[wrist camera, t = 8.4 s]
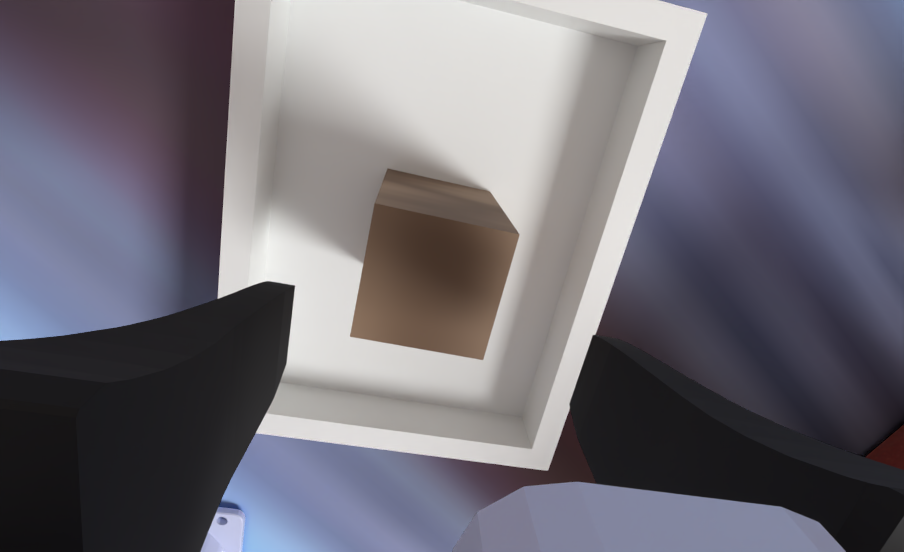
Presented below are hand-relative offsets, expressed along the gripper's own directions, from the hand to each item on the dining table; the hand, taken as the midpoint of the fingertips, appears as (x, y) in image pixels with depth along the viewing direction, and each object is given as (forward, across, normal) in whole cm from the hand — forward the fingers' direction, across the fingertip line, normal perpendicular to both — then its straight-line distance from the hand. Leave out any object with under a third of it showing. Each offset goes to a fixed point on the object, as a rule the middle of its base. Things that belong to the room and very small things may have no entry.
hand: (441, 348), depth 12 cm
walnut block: (+9, 0, 0) cm, 9 cm away
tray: (+9, 0, -1) cm, 9 cm away
